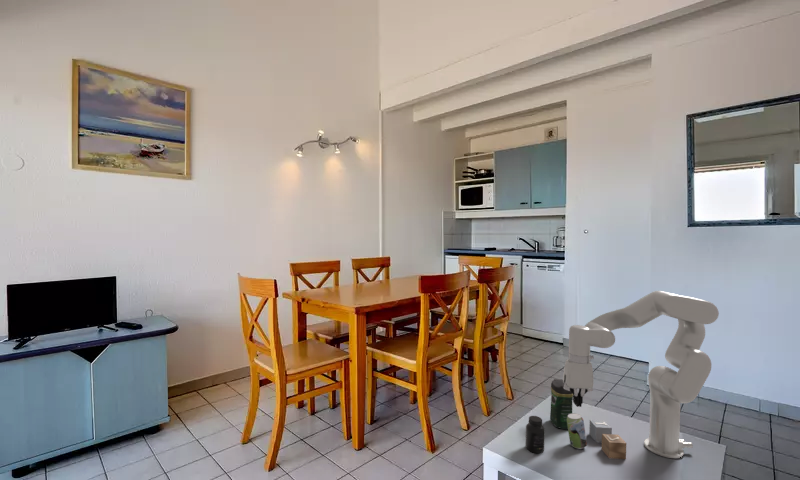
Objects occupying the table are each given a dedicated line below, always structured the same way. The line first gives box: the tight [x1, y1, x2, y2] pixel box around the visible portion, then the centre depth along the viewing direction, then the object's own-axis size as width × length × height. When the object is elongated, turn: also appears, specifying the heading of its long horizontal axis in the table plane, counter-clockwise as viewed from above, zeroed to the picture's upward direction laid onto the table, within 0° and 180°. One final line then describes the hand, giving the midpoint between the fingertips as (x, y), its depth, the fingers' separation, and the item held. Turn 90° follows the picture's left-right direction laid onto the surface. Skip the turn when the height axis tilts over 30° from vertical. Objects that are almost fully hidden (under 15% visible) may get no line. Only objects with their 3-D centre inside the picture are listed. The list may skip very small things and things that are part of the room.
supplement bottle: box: [524, 415, 546, 455], centre depth 146 cm, size 7×7×12 cm
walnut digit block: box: [601, 433, 627, 460], centre depth 144 cm, size 6×6×6 cm
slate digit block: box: [588, 419, 613, 443], centre depth 155 cm, size 6×6×6 cm
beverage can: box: [567, 412, 588, 450], centre depth 149 cm, size 6×7×12 cm
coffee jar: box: [549, 378, 573, 430], centre depth 166 cm, size 10×8×19 cm
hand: (577, 405), depth 149 cm, fingers closed
